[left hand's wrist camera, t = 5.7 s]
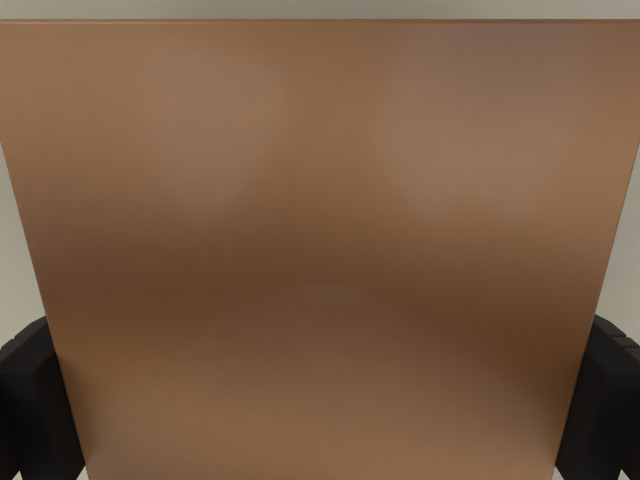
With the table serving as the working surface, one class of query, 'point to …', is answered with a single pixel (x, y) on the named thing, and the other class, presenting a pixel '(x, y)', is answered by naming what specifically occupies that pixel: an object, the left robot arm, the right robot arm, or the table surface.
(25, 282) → the table surface
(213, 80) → the wide beam
